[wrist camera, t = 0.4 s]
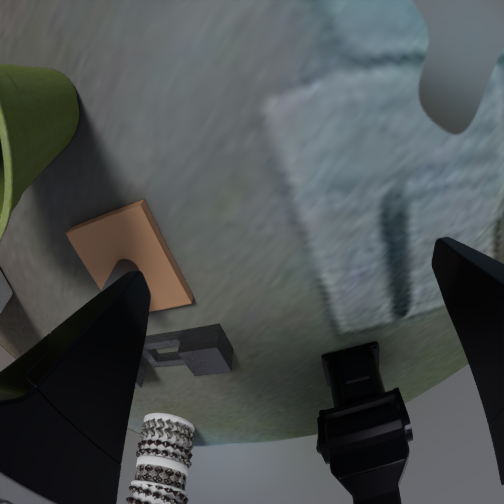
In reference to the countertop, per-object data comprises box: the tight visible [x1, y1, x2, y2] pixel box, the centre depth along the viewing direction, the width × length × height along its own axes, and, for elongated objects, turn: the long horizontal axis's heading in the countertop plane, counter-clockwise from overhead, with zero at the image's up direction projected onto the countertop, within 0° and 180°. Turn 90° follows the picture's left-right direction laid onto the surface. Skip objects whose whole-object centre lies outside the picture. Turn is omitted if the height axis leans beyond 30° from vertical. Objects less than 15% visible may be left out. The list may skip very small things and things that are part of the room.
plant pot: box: [0, 64, 80, 241], centre depth 14 cm, size 12×12×11 cm
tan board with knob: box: [66, 199, 193, 312], centre depth 24 cm, size 10×8×6 cm
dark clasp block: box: [142, 324, 233, 376], centre depth 31 cm, size 4×10×3 cm, turn 107°
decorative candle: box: [126, 413, 195, 504], centre depth 34 cm, size 9×9×25 cm
